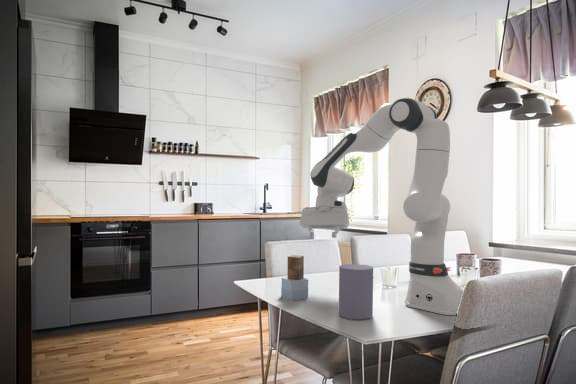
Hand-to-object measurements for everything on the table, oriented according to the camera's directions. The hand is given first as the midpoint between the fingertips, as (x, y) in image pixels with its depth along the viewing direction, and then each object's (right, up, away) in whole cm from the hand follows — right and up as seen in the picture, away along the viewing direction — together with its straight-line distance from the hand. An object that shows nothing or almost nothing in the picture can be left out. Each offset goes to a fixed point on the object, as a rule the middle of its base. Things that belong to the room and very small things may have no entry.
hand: (322, 237), depth 170 cm
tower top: (-11, -17, -17) cm, 26 cm away
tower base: (-11, -20, -17) cm, 29 cm away
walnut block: (-11, -13, -16) cm, 24 cm away
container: (+7, -20, -40) cm, 45 cm away
